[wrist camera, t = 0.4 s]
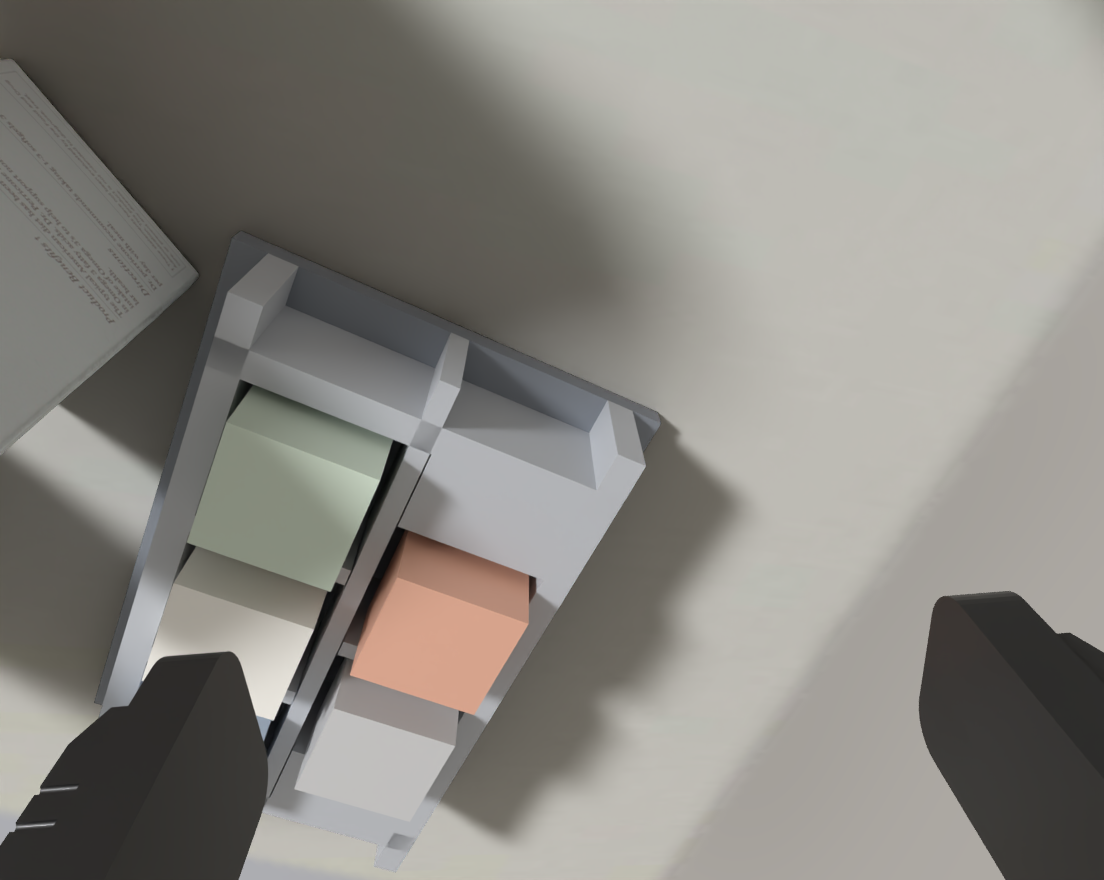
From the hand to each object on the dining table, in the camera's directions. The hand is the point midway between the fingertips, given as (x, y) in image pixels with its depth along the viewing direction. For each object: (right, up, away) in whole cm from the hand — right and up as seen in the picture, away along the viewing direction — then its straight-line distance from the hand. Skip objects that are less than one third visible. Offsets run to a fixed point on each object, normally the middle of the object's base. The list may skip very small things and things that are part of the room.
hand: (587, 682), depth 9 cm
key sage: (-8, +2, +14) cm, 17 cm away
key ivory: (-10, -2, +17) cm, 20 cm away
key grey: (-6, -6, +19) cm, 21 cm away
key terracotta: (-4, -2, +17) cm, 17 cm away
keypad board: (-8, -2, +20) cm, 21 cm away
